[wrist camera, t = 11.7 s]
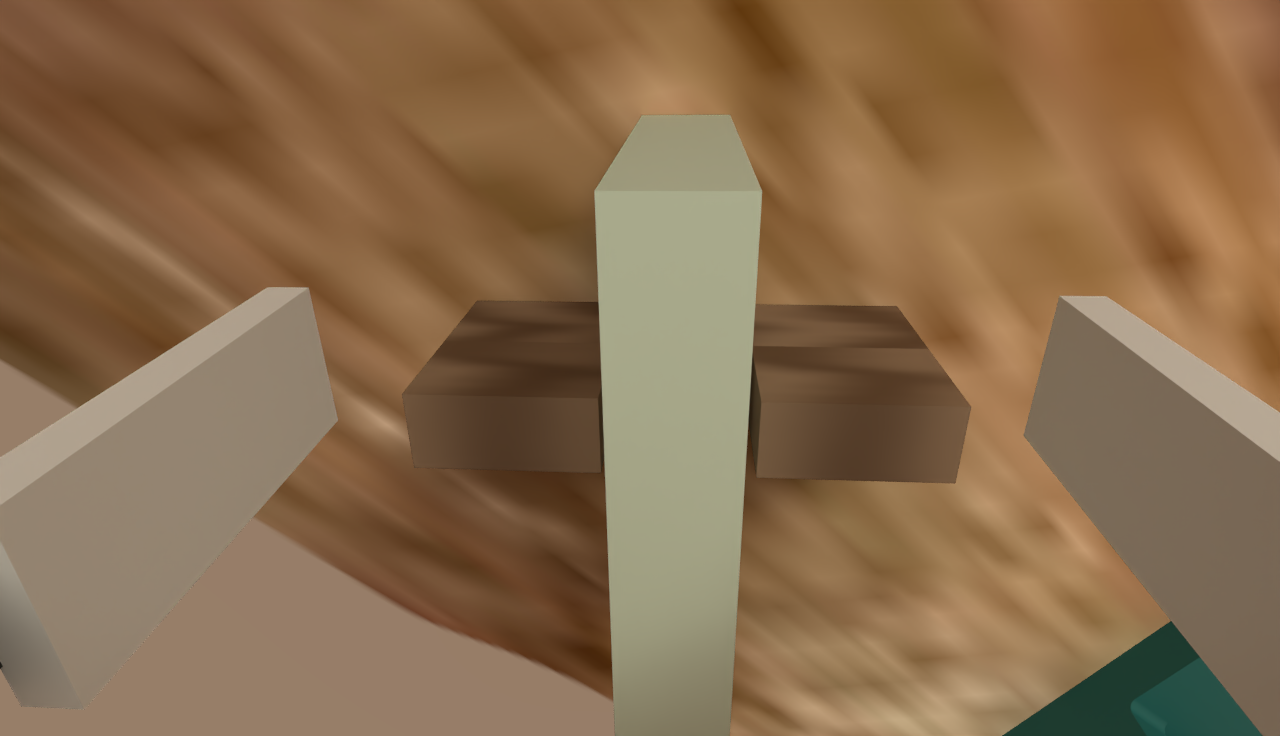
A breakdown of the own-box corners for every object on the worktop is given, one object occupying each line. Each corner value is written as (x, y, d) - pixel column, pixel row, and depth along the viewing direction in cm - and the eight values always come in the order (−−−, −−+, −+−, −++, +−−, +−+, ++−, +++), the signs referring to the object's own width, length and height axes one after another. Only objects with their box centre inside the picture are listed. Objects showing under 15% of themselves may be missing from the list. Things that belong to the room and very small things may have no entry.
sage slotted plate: (714, 503, 31) (726, 787, 20) (645, 501, 32) (616, 780, 20) (730, 114, 25) (762, 191, 13) (642, 115, 25) (594, 190, 13)
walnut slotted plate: (483, 359, 29) (413, 467, 22) (477, 300, 28) (402, 394, 21) (888, 367, 28) (955, 483, 21) (897, 306, 27) (971, 407, 20)
